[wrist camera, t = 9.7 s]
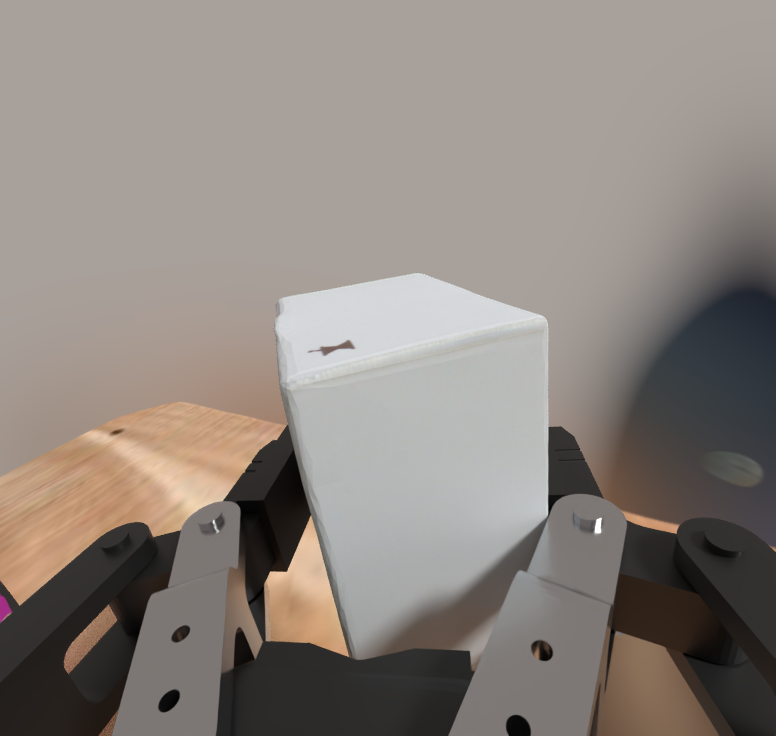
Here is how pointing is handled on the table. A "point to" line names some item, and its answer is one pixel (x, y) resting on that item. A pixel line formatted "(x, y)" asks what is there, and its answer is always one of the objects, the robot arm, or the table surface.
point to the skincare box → (417, 454)
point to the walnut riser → (649, 694)
